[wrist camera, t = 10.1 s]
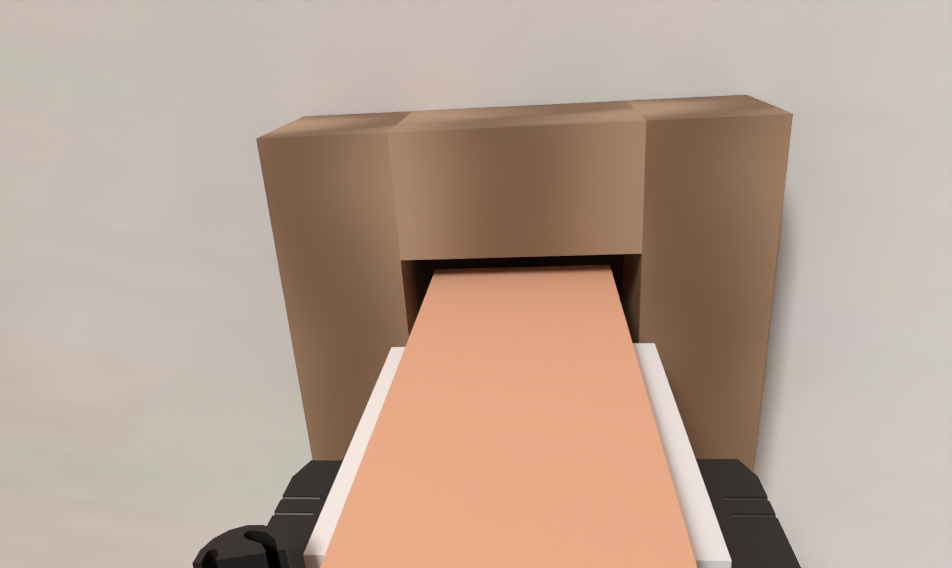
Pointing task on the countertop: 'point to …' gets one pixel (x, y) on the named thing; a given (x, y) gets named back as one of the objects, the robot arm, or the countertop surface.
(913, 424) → the countertop surface
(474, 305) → the peg
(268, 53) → the countertop surface
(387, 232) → the socket
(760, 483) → the robot arm
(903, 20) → the countertop surface
